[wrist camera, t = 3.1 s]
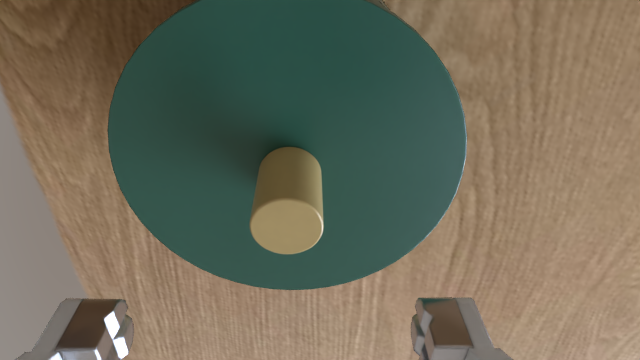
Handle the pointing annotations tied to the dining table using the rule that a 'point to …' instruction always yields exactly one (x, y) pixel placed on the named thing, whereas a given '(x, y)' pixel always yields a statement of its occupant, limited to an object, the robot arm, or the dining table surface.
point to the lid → (287, 139)
